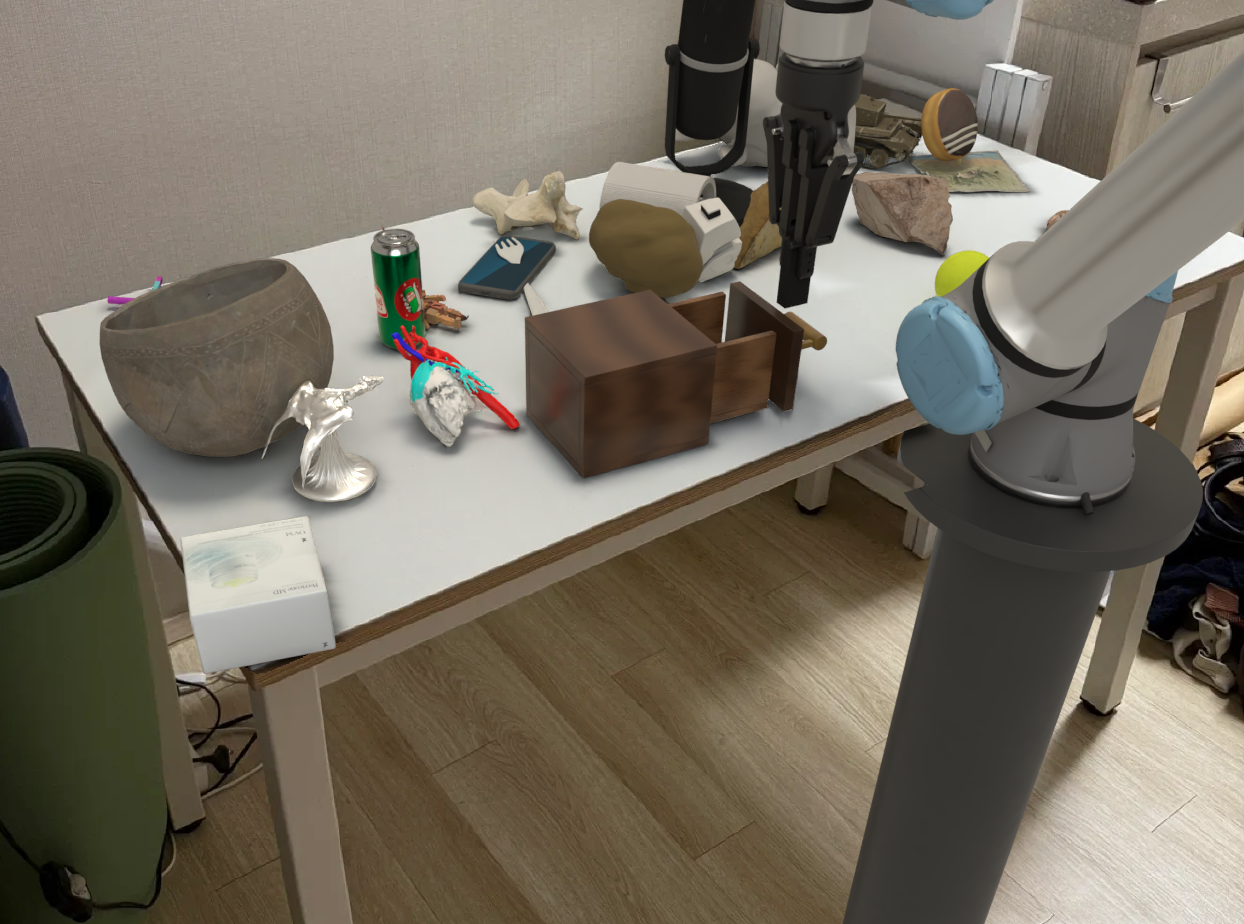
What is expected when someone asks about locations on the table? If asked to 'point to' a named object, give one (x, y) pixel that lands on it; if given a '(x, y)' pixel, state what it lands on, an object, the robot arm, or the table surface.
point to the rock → (757, 229)
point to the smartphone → (506, 269)
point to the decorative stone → (647, 247)
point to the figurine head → (761, 107)
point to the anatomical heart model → (445, 389)
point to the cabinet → (619, 381)
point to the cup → (656, 186)
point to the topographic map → (972, 172)
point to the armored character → (440, 311)
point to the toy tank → (883, 133)
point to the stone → (904, 207)
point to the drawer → (750, 350)
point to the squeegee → (124, 300)
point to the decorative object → (531, 206)
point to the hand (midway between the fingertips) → (791, 302)
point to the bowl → (218, 356)
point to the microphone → (712, 87)
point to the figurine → (328, 443)
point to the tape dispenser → (714, 236)
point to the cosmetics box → (256, 594)
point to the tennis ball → (957, 270)
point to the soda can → (397, 284)
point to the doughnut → (949, 125)
